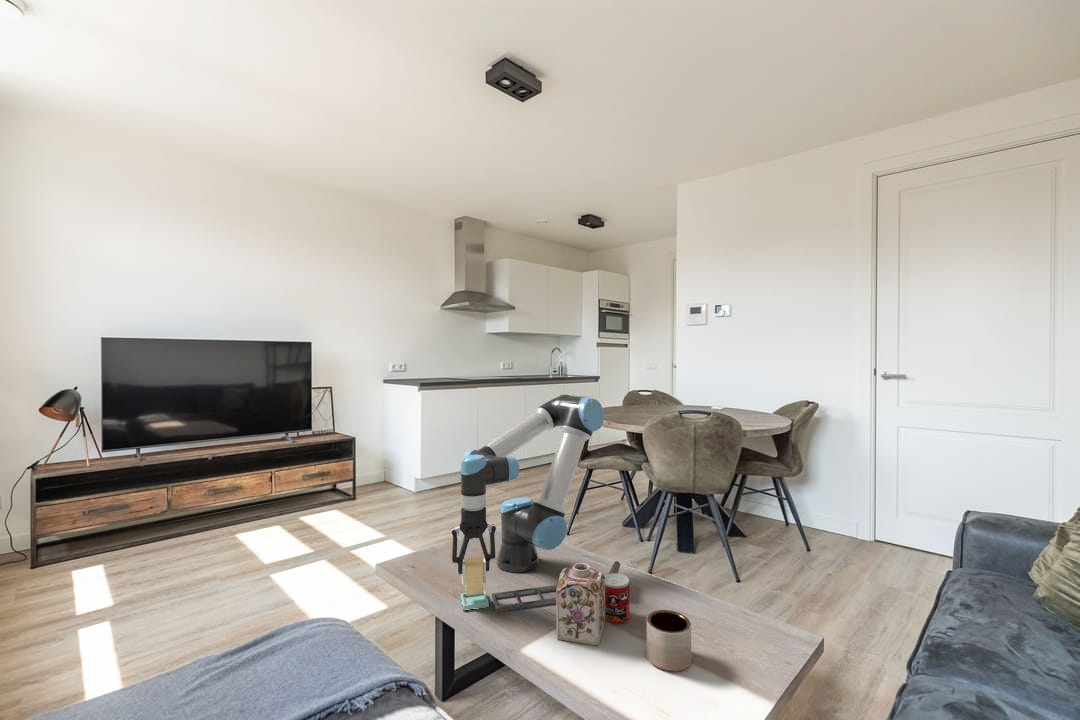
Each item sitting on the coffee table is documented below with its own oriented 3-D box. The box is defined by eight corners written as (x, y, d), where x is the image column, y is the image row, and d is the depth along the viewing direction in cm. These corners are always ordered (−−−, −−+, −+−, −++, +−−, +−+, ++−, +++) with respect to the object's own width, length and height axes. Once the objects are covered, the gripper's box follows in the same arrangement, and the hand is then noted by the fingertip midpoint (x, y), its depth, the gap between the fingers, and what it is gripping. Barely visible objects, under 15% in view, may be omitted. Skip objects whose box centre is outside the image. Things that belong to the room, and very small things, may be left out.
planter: (664, 678, 114) (664, 638, 113) (637, 652, 124) (637, 615, 123) (701, 666, 118) (701, 627, 118) (672, 641, 128) (672, 605, 128)
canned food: (599, 621, 137) (599, 583, 137) (605, 607, 145) (605, 571, 145) (626, 626, 135) (626, 587, 135) (631, 612, 142) (631, 575, 142)
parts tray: (485, 595, 153) (485, 590, 153) (488, 607, 145) (488, 602, 145) (460, 598, 151) (460, 593, 151) (463, 611, 143) (463, 606, 143)
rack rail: (558, 588, 157) (558, 584, 157) (567, 602, 148) (567, 598, 148) (491, 597, 151) (491, 593, 151) (496, 612, 143) (496, 608, 143)
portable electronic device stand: (599, 584, 160) (599, 558, 160) (623, 587, 158) (623, 561, 157) (595, 597, 151) (595, 570, 151) (620, 600, 149) (620, 573, 149)
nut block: (481, 585, 151) (481, 556, 151) (484, 593, 146) (484, 563, 146) (463, 587, 150) (463, 558, 150) (465, 596, 144) (465, 566, 144)
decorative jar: (606, 622, 137) (605, 559, 137) (599, 647, 126) (599, 578, 125) (564, 616, 140) (564, 555, 140) (555, 640, 129) (554, 573, 129)
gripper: (501, 500, 153) (501, 573, 154) (441, 505, 149) (442, 580, 149) (506, 508, 146) (506, 584, 147) (443, 513, 141) (443, 592, 142)
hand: (473, 582), depth 148 cm, fingers closed on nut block, 6 cm apart
